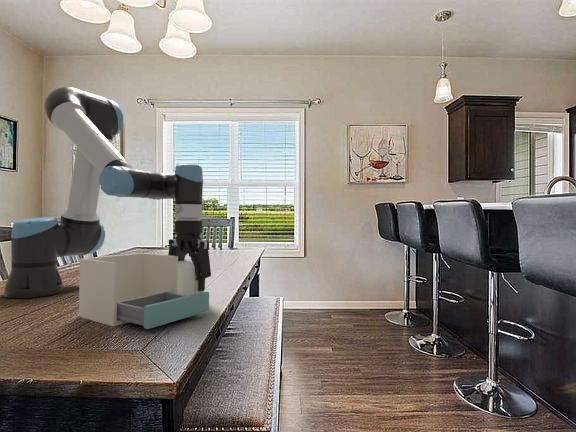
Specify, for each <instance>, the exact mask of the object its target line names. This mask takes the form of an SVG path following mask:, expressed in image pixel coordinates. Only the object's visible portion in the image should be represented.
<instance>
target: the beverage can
mask: <svg viewBox="0 0 576 432" xmlns="http://www.w3.org/2000/svg"><path fill="white" fill-rule="evenodd" d="M200 275H201V273H200ZM195 278H197V277H196V274H195V267H194V264H193V262H192V260H191V258H190V259H189V258H187V259H186V258H185V259H184V261H178V294H179V295H185V296H189V295H193V294H194V280H195Z"/></svg>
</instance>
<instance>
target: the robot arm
mask: <svg viewBox="0 0 576 432" xmlns="http://www.w3.org/2000/svg"><path fill="white" fill-rule="evenodd" d="M44 112H45V115H46V117H47V119H48V120H49V122H51V124H52V125H53V127H55V128H56V129H57V130H59V131H62V132H64V134H65V135H66V136H67V137H68V138H69V139H70V141H71V142H72V143H73V145H74V146H76V149H75V157H74V162H73V170H72V177H71V183H70V190H69V196H68V203H67V209H66V210H65V211H64V212H62V213H61V214H60V219H58V218H57V217H54V216H50V217H49V216H47V217H46V216H44V217H33V218H25V219H19V220H17V221H14V222H13V224H12V227H11V235H10V238H11V259H10V261H11V266H10V267H11V268H10V272H9V275H8V276H7V277H8V278H7V280H6V282H5V285H4V288H3V297H4V298H8V299H29V298H30V299H31V298H40V297H48V296H53V295H56V294H59V293H63V291H64V282H63V279H62V277H61V274H60V271H59V269H58V258H62V257H63V258H64V257H72V256H73V257H74V256H87V255H89V254H94V253H96V252H97V251H99V250H100V249H101V247H102V246H103V244H104V242H105V239H106V230H105V227H104V225H103V223H101V217H99V215H98V214H97V209H98V204H99V203H98V202H99V196H100V190H101V191H102V192H103V193H104V194H106V195H107V196H112V197H113V196H114V197H118V198H141V199H149V200H158V201H159V200H170V199H172V200H173V199H174V218H175V219H176V220H175V221H174V234H176V238H171V239H169V240H168V254H167V255H170V256H178V261H184V259H186V256H187V255H188V257H190V259H191V260H192V262H193V264H194V267H195V274H196V277H197V278H195V280H194V294H198V293H202V292H205V291H206V279H207V278H210V277H211V276H212V271H211V264H210V263H211V262H210V261H211V260H210V254H209V247H210V242H209V241H208V240H202V238H201V234H202V233H203V221H202V220H201V219H203V189H204V178H203V177H204V176H203V175H204V173H203V167H202V166H201V165H199V164H192V163H180V164H176V165H175V170H174V172H165V173H164V172H156V171H148V170H140V169H136V168H134V167H133V166H132V165H131V164H130V163H129V162H128V161H127V160H126V159H125V158H124V157H123V155H122V154H121V153H120V152H119V151H118V150H117V149H116V148H115V147H114V145H113V144H112V142H113V138H114V136H117V135H118V134H120V132H121V131H122V129H123V126H124V115H123V111H122V109H121V108H120V105H119V104H118V103H117V102H115V101H113V100H112V99H108V98H107V97H104V96H101V95H97V94H94V93H91V92H87V91H84V90H81V89H78V88H75V87H70V86H62V87H58V88H56V89H54V90H52V91H50V92H49V94H48V95H47V97H46V99H45V101H44ZM59 220H60V221H59ZM200 273H201V275H200Z"/></svg>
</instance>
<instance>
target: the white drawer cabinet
mask: <svg viewBox="0 0 576 432" xmlns="http://www.w3.org/2000/svg"><path fill="white" fill-rule="evenodd" d="M78 285H79V286H78V287H79V290H78V292H79V294H78V295H79V296H78V297H79V298H78V300H79V301H78V317H79V318H82V319H85V320H89V321H93V322H97V323H100V324H103V325H106V326H110V327H118V326H121V325H124V324H129V323H130V322H128V321H124V320H120V319H117V302H120V301H125V300H129V299H134V298H139V297H144V296H149V295H154V294H158V293H163V292H169V293H174V294H178V256H170V255H168V254H161V253H160V254H159V253H148V252H139V253H127V254H117V255H108V256H107V255H106V256H97V257H96V256H95V257H87V258H85V257H84V258H79V283H78Z"/></svg>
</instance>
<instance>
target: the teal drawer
mask: <svg viewBox="0 0 576 432" xmlns="http://www.w3.org/2000/svg"><path fill="white" fill-rule="evenodd" d="M209 311H210V292H209V291H203V292H202V293H198V294H193V295H189V296H185V295H179V294H174V293H169V292H163V293H158V294H154V295H149V296H144V297H139V298H134V299H129V300H125V301H120V302H117V319H120V320H124V321H128V322H129V323H132V324H136V325H140V326H143V329H147V330H149V329H154V328H155V327H160V326H164V325H166V324H170V323H172V322H176V321H179V320H180V321H181V320H184V319H186V318H190V317H192V316H193V317H194V316H196V315H201V314H203V313H206V312H209Z"/></svg>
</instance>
